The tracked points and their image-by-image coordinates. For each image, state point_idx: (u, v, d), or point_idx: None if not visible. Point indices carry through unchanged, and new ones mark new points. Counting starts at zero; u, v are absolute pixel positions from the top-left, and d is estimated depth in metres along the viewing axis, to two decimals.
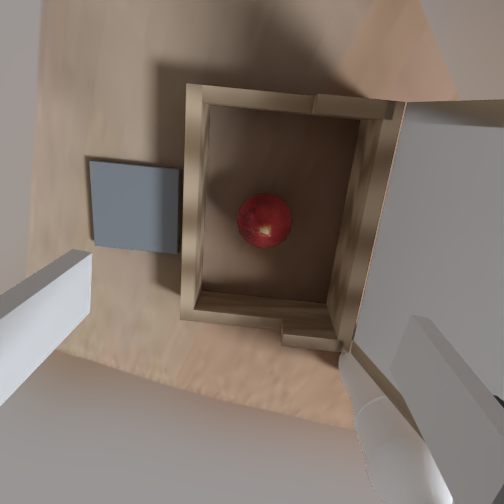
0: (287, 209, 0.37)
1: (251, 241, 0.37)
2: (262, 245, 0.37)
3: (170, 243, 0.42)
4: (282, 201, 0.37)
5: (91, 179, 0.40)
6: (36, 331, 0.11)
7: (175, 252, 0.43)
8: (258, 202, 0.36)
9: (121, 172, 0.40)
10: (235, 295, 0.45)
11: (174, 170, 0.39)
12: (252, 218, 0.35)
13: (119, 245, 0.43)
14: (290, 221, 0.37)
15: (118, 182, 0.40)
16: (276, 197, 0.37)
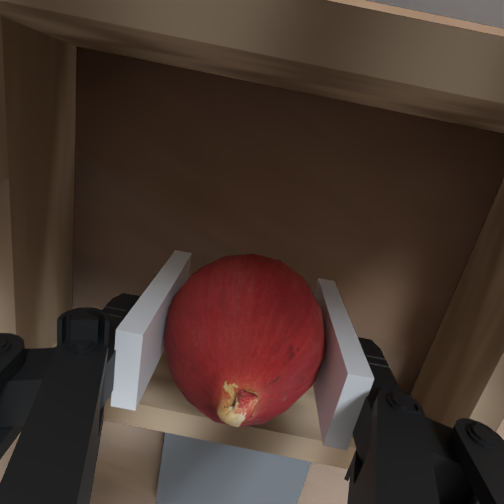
0: (207, 280, 0.12)
1: None
2: (306, 384, 0.11)
3: None
4: (185, 287, 0.12)
5: None
6: (166, 320, 0.13)
7: None
8: (170, 369, 0.12)
9: (173, 470, 0.25)
10: (436, 340, 0.21)
11: None
12: (206, 414, 0.11)
13: (292, 500, 0.25)
14: (244, 277, 0.11)
15: (187, 477, 0.25)
16: (173, 302, 0.12)
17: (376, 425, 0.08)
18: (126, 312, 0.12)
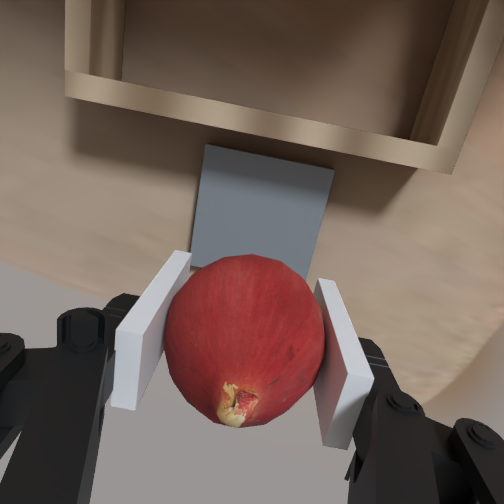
0: (207, 280, 0.12)
1: None
2: (306, 385, 0.11)
3: (315, 178, 0.27)
4: (185, 288, 0.12)
5: None
6: None
7: (331, 172, 0.27)
8: (169, 369, 0.12)
9: (205, 226, 0.29)
10: (430, 79, 0.25)
11: (205, 150, 0.27)
12: (206, 415, 0.11)
13: (308, 253, 0.29)
14: (244, 278, 0.11)
15: (218, 233, 0.29)
16: (173, 303, 0.12)
17: (376, 425, 0.08)
18: (126, 312, 0.12)
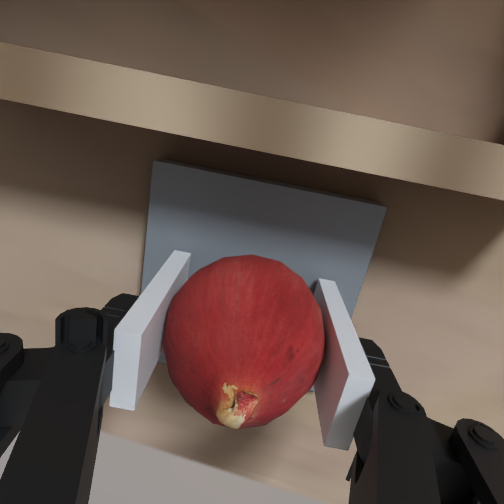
0: (206, 280, 0.12)
1: None
2: (305, 385, 0.11)
3: (352, 220, 0.15)
4: (185, 288, 0.12)
5: None
6: (165, 320, 0.13)
7: (381, 210, 0.15)
8: (169, 370, 0.12)
9: None
10: None
11: (154, 172, 0.15)
12: (205, 416, 0.11)
13: None
14: (243, 278, 0.11)
15: None
16: (172, 303, 0.12)
17: (377, 426, 0.08)
18: (125, 312, 0.12)
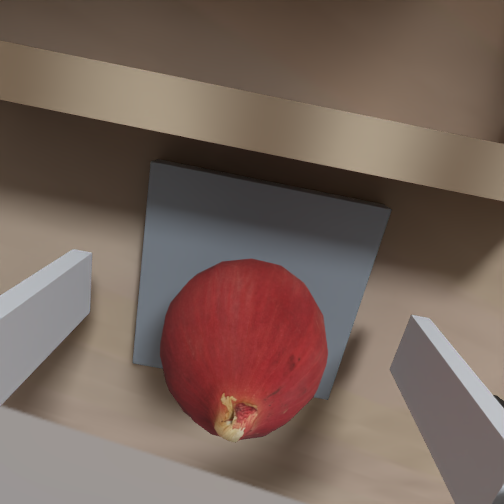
0: (204, 286, 0.11)
1: (290, 418, 0.11)
2: (307, 395, 0.11)
3: (355, 222, 0.15)
4: (182, 293, 0.12)
5: None
6: (36, 331, 0.11)
7: (385, 212, 0.15)
8: (166, 378, 0.11)
9: (158, 303, 0.17)
10: None
11: (152, 173, 0.15)
12: (203, 426, 0.10)
13: (337, 348, 0.17)
14: (243, 284, 0.11)
15: None
16: (169, 309, 0.12)
17: None
18: None
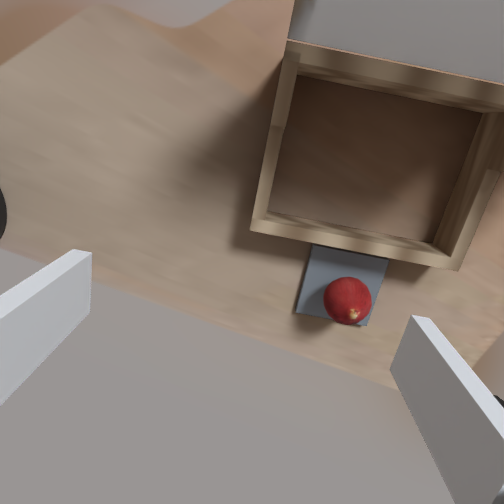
0: (340, 284, 0.42)
1: (362, 319, 0.42)
2: (368, 312, 0.42)
3: (377, 264, 0.46)
4: (332, 286, 0.43)
5: (310, 314, 0.49)
6: (36, 331, 0.11)
7: (387, 261, 0.46)
8: (329, 309, 0.43)
9: (308, 290, 0.48)
10: (445, 211, 0.44)
11: (313, 248, 0.46)
12: (342, 319, 0.42)
13: None
14: (351, 283, 0.42)
15: (316, 294, 0.48)
16: (328, 290, 0.43)
17: None
18: None
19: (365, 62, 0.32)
